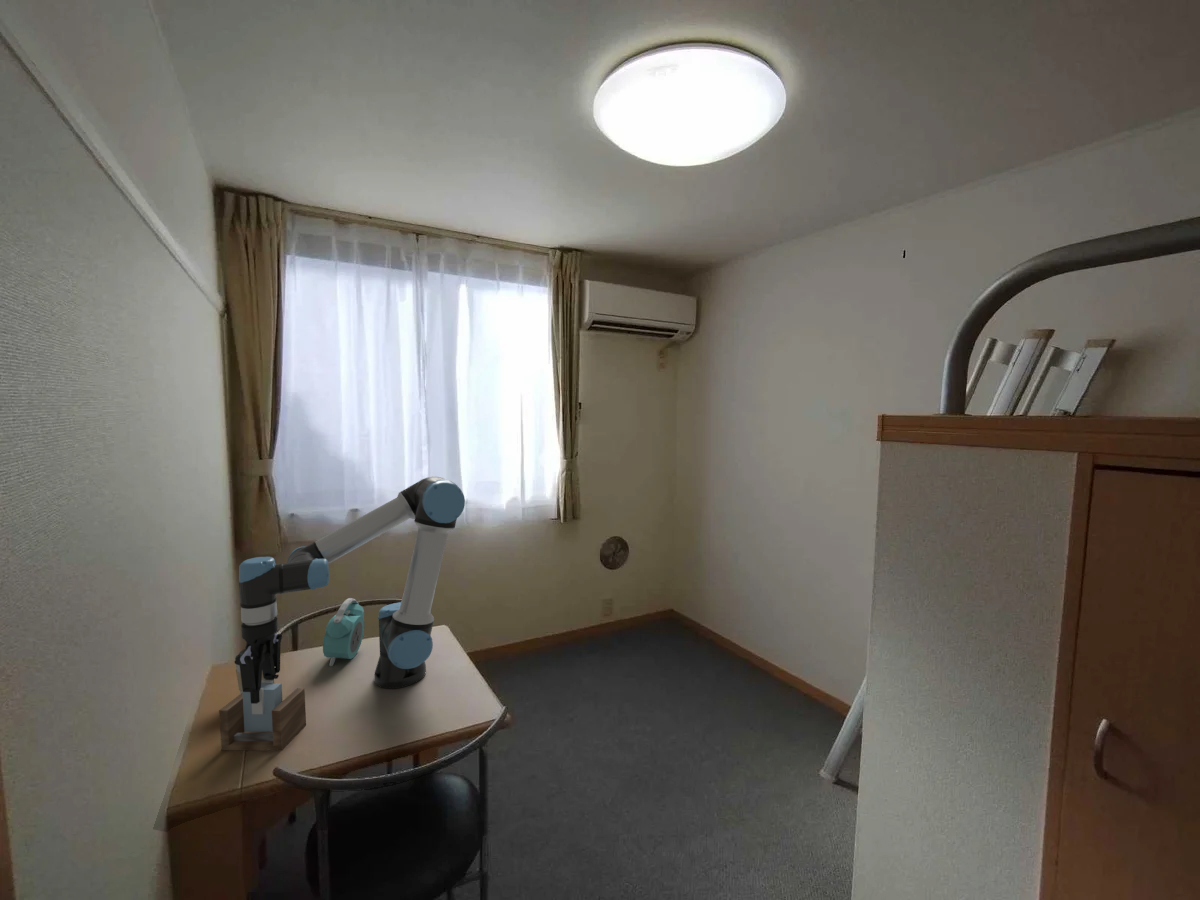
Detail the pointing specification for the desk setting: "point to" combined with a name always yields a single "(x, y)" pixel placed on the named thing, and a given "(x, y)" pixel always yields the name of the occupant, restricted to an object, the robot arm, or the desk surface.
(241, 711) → the frame
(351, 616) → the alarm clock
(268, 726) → the door panel
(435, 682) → the desk surface
